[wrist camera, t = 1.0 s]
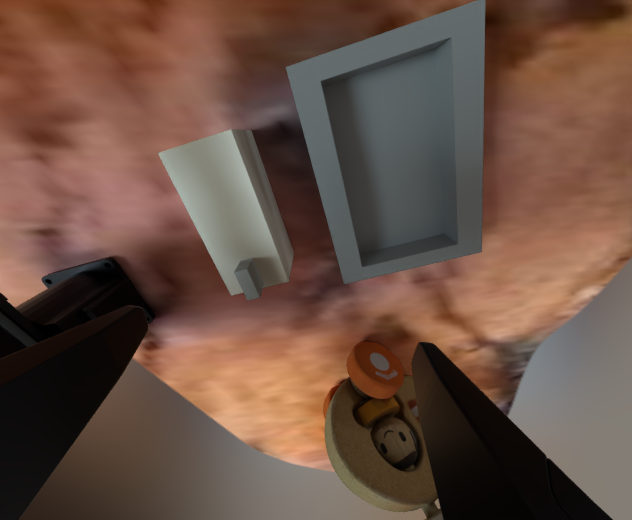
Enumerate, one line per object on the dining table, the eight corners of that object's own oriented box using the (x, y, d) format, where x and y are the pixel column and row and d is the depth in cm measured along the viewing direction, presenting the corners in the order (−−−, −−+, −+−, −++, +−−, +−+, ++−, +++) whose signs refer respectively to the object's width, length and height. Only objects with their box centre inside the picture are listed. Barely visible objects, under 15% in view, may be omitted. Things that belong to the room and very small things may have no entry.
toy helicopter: (340, 331, 24) (366, 543, 12) (523, 381, 27) (697, 591, 15) (311, 386, 27) (308, 595, 15) (476, 425, 30) (585, 625, 18)
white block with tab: (247, 264, 21) (224, 308, 16) (195, 148, 17) (140, 155, 12) (294, 252, 20) (286, 294, 15) (251, 130, 16) (221, 129, 11)
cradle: (340, 265, 21) (344, 284, 18) (290, 78, 15) (285, 67, 13) (460, 236, 20) (481, 252, 17) (454, 21, 14) (485, -3, 11)
